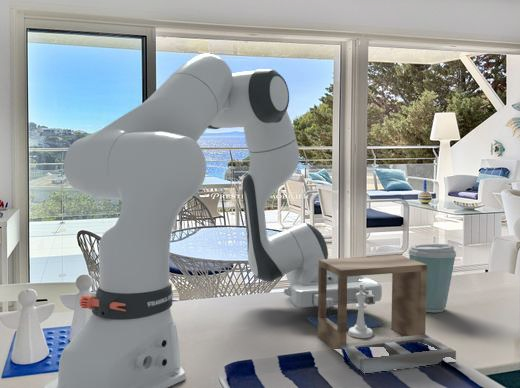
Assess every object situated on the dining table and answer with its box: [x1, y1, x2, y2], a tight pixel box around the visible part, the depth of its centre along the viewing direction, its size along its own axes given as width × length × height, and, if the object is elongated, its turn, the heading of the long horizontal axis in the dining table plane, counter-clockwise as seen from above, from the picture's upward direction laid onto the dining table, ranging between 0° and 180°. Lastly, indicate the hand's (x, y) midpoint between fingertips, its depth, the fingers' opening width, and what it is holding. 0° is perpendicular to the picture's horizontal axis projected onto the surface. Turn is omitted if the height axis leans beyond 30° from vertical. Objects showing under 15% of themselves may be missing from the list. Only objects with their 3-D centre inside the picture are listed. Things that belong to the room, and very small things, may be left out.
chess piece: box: [347, 284, 374, 339], centre depth 107 cm, size 5×5×10 cm
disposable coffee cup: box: [407, 243, 457, 313], centre depth 124 cm, size 11×11×15 cm
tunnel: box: [317, 254, 457, 375], centre depth 99 cm, size 19×17×15 cm
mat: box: [307, 312, 383, 331], centre depth 114 cm, size 9×13×1 cm
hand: (351, 302), depth 110 cm, fingers open, 8 cm apart
